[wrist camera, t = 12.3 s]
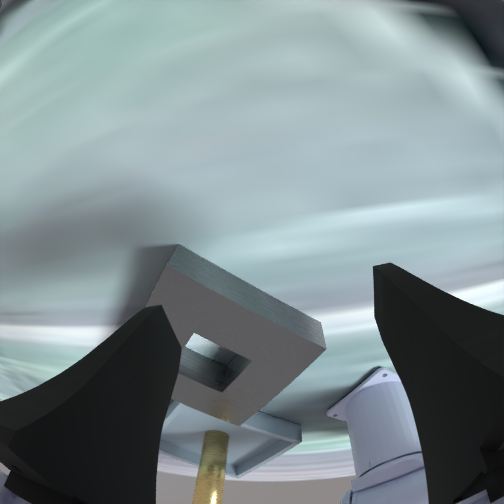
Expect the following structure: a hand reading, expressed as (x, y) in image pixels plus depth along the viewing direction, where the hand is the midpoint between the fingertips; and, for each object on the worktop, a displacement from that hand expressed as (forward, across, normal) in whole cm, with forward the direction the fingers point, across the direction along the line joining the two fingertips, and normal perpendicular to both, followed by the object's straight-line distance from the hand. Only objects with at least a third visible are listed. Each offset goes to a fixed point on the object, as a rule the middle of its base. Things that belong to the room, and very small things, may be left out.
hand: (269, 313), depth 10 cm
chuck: (+10, +6, +9) cm, 15 cm away
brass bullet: (+10, +11, +23) cm, 27 cm away
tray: (+10, +11, +23) cm, 28 cm away
